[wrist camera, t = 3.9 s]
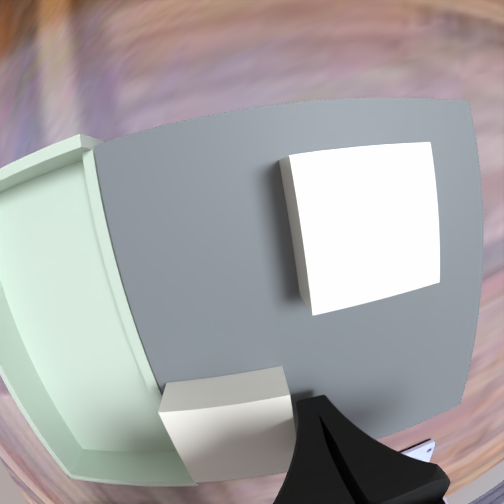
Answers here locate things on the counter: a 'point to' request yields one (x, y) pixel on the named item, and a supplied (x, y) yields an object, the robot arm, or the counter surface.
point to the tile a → (231, 424)
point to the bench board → (292, 257)
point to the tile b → (362, 223)
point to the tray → (76, 326)
